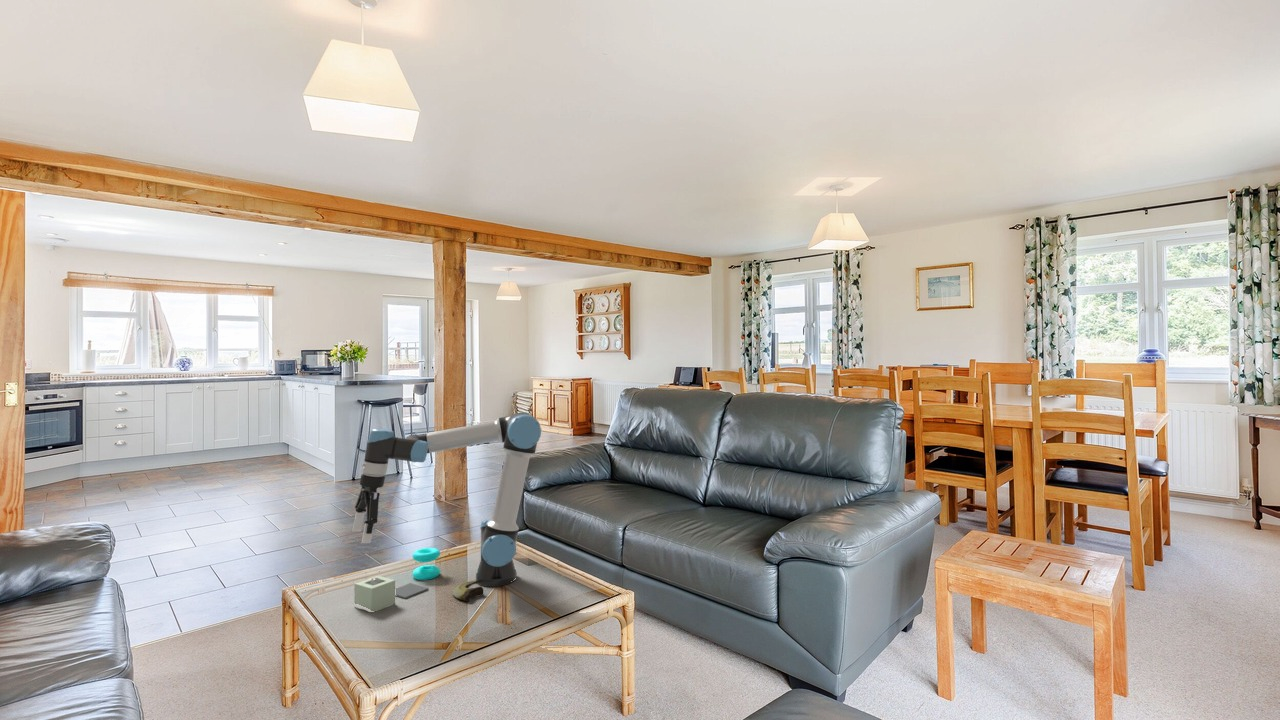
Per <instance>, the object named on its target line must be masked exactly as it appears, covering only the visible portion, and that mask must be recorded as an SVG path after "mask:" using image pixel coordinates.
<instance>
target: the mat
mask: <svg viewBox="0 0 1280 720" xmlns="http://www.w3.org/2000/svg"><path fill="white" fill-rule="evenodd" d="M395 589H396V595H397V596H399V597H398V598H401V599H403V600H406V599H409V598H411V597H414V596H417V595H419V594H421V593H424V592H426V591H429V590H430V589H429V587H426V586H423V585H419V584H415V583H412V582H411V583H410V582H409V583H407V584H405V585H401V586H399V587H395ZM397 596H396V597H397Z"/></svg>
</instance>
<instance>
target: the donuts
mask: <svg viewBox="0 0 1280 720" xmlns="http://www.w3.org/2000/svg"><path fill="white" fill-rule="evenodd" d="M440 556H441V551H440V549H438V548H435V547H424V548H423V547H422V548H420V549H417V550H415V551H414V552H413V554H412V559H413V560H414V561H416V562H419V563H429V562H433V561H436V560H437V559H438V558H439V557H440ZM440 573H441V570H440V568H439V566H437V565H433V564H425V565H421V566H418V567H416V568H415V569H414V570H413V571H412V577H413V579H415V580H419V581H427V580H432V579H435V578H437V577H438V576H439V575H440Z"/></svg>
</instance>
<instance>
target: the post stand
mask: <svg viewBox="0 0 1280 720" xmlns="http://www.w3.org/2000/svg"><path fill="white" fill-rule="evenodd" d="M371 578H372V579H371V585H373V586H374V585H376V584H379V578H373V577H371Z"/></svg>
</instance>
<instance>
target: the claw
mask: <svg viewBox="0 0 1280 720" xmlns="http://www.w3.org/2000/svg"><path fill="white" fill-rule="evenodd" d="M475 583H476V579H475V580H470V581H468V582H464V583H462V584H459V585H458V586H456V587H455V588H454V589H453V591H452V595H453V597H455V598H456V599H459V600H462V601H464V602H465V601H466V602H470V600H472V599H473V598H476V597H481V596H482V595H484V587H482V585H479V586H476V587H470V588H469V587H468V586H470V585H472V584H475Z"/></svg>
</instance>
